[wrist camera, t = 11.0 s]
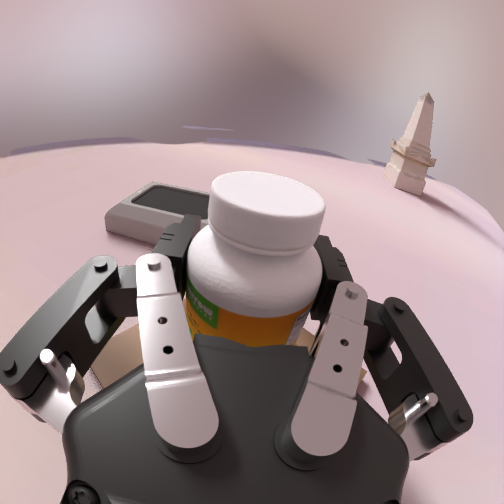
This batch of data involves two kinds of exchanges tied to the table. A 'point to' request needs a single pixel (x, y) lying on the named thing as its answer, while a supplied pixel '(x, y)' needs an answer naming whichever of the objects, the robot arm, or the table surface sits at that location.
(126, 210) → the grey flat boxy piece
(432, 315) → the table surface
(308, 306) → the supplement bottle
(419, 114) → the miniature monument
